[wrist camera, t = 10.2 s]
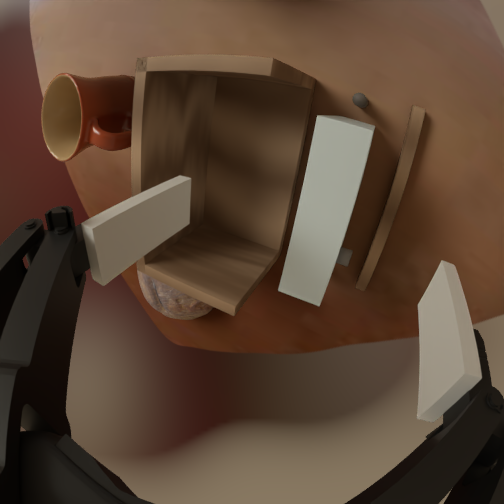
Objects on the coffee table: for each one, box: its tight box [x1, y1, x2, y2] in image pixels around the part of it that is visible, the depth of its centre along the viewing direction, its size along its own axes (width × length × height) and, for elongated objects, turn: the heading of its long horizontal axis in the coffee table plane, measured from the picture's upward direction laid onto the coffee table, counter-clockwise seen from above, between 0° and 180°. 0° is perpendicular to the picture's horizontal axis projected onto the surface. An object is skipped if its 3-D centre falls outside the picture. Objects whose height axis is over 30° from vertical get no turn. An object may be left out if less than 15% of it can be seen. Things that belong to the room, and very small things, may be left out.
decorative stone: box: [137, 270, 213, 320], centre depth 34 cm, size 12×12×6 cm
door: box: [278, 115, 375, 306], centre depth 19 cm, size 12×4×9 cm, turn 171°
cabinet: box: [131, 54, 425, 316], centre depth 20 cm, size 17×18×10 cm
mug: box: [41, 73, 135, 162], centre depth 24 cm, size 12×9×10 cm
